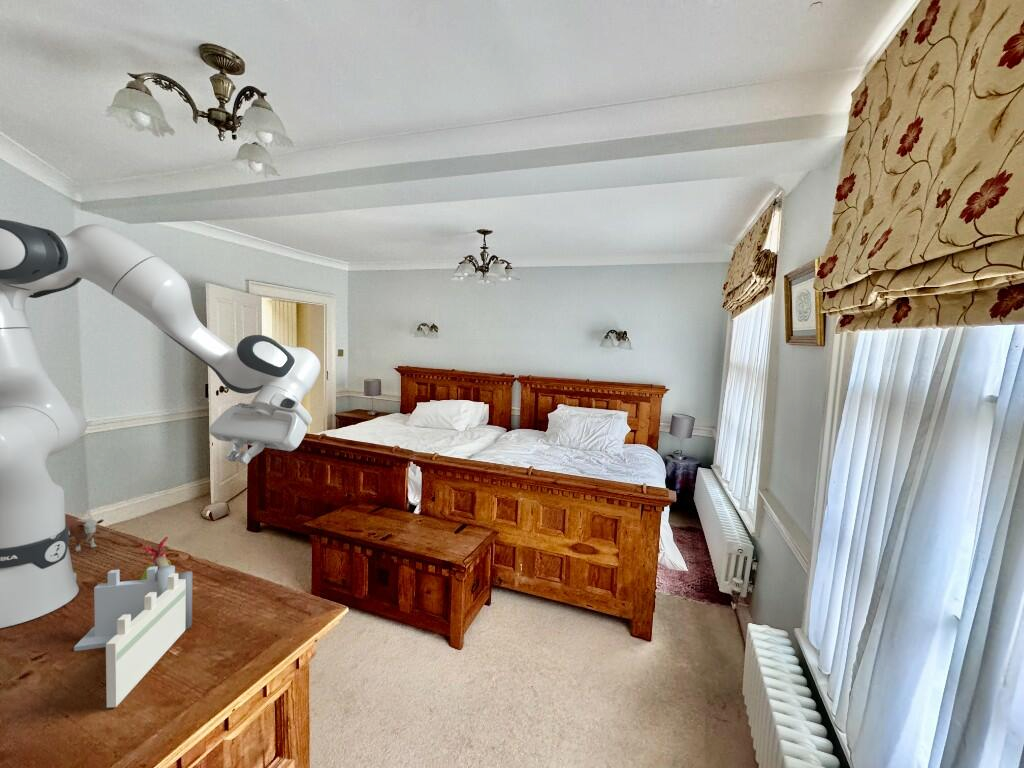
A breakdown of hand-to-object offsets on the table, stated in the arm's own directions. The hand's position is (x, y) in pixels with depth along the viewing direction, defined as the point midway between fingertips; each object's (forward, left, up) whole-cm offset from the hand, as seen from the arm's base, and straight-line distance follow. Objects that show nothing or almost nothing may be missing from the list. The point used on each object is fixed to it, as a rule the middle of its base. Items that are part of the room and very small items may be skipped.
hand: (236, 461), depth 83 cm
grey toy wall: (-11, -12, -29) cm, 33 cm away
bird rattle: (-16, +2, -30) cm, 34 cm away
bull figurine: (-46, +16, -30) cm, 57 cm away
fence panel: (-2, -18, -29) cm, 34 cm away
